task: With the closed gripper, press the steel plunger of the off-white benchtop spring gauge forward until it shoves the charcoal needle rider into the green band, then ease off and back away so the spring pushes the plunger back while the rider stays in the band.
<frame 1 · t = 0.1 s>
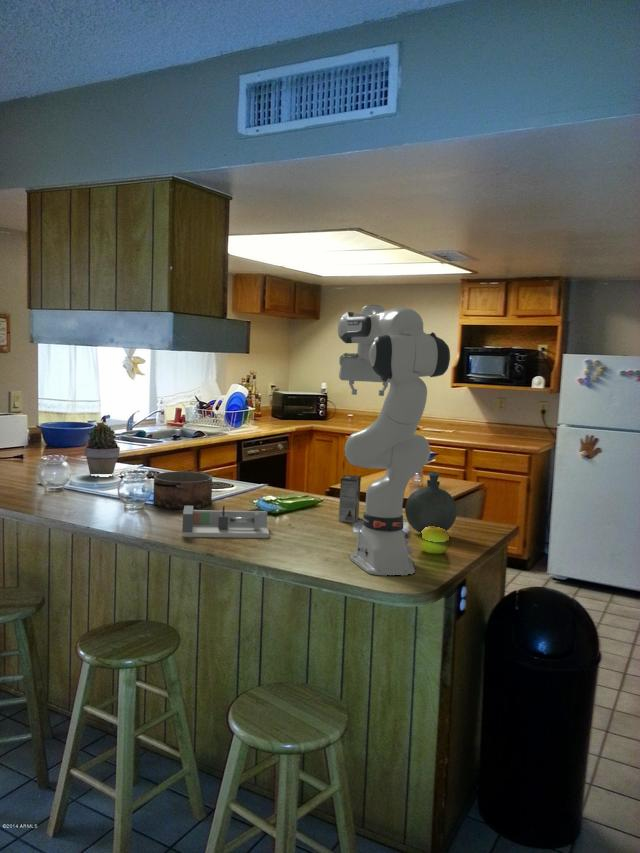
hand: (367, 395, 235), 48 cm above the countertop, fingers open, 8 cm apart
coffee box: (348, 520, 259), on the countertop
plunger: (244, 519, 231), point 4 cm above the countertop, slide at 0.0 cm
gauge bed: (225, 532, 231), on the countertop
cooking pot: (182, 504, 271), on the countertop
flask: (429, 535, 243), on the countertop
needle rider: (223, 516, 230), point 5 cm above the countertop, slide at 0.0 cm
potted plant: (101, 475, 317), on the countertop
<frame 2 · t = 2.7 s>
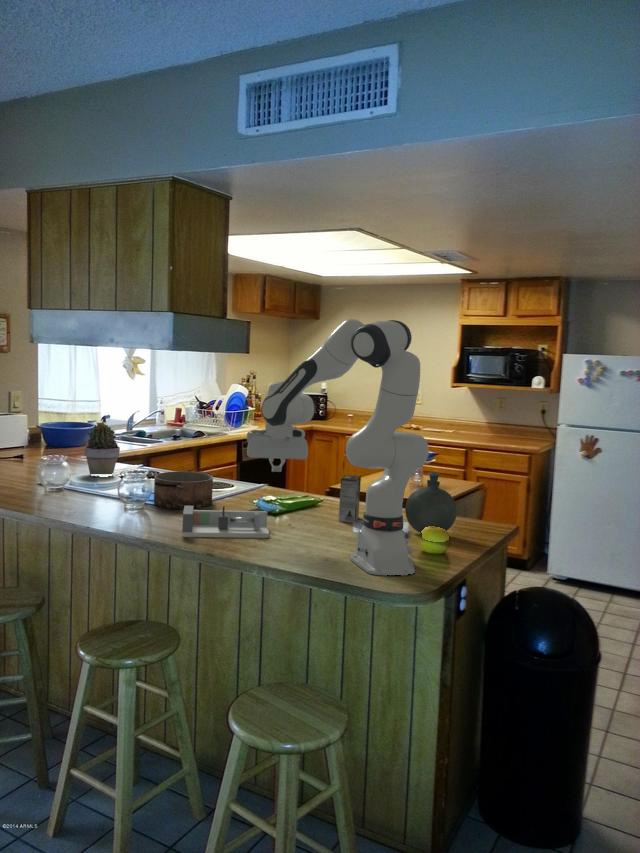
hand: (276, 471, 231), 21 cm above the countertop, fingers closed
nothing on the countertop moved.
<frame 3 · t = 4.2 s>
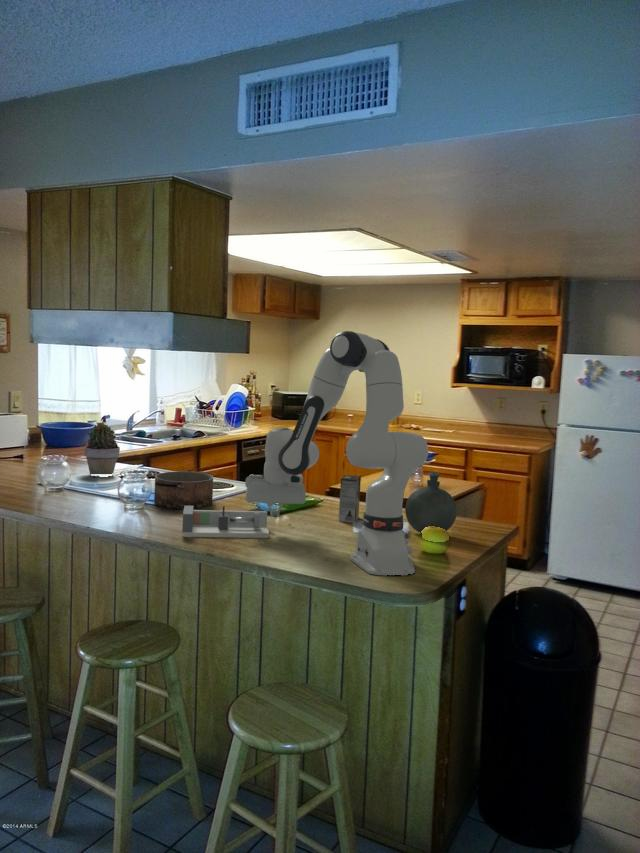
hand: (274, 515, 233), 6 cm above the countertop, fingers closed
nothing on the countertop moved.
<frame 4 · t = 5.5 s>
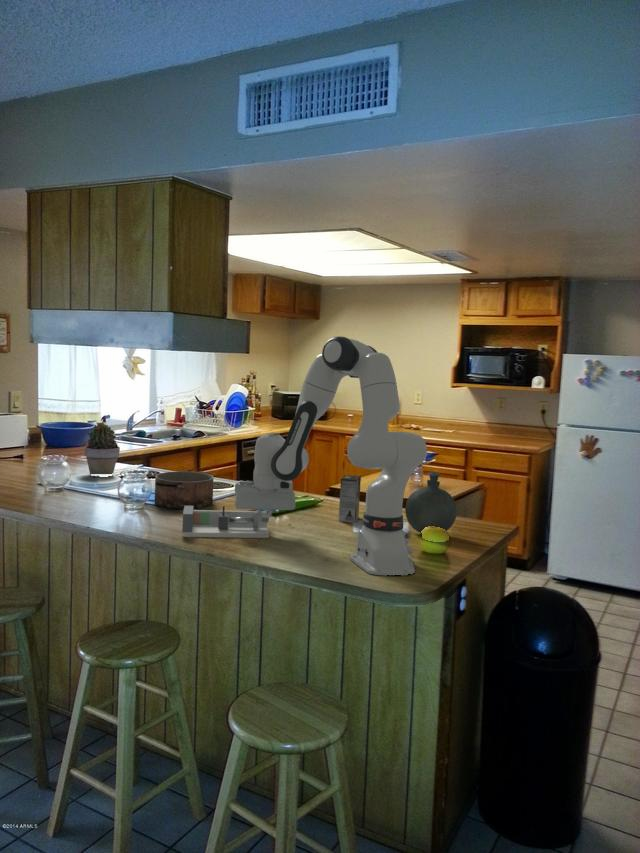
hand: (264, 521, 233), 4 cm above the countertop, fingers closed
plunger: (243, 519, 231), point 4 cm above the countertop, slide at 0.3 cm, touching gripper
everything else where it was.
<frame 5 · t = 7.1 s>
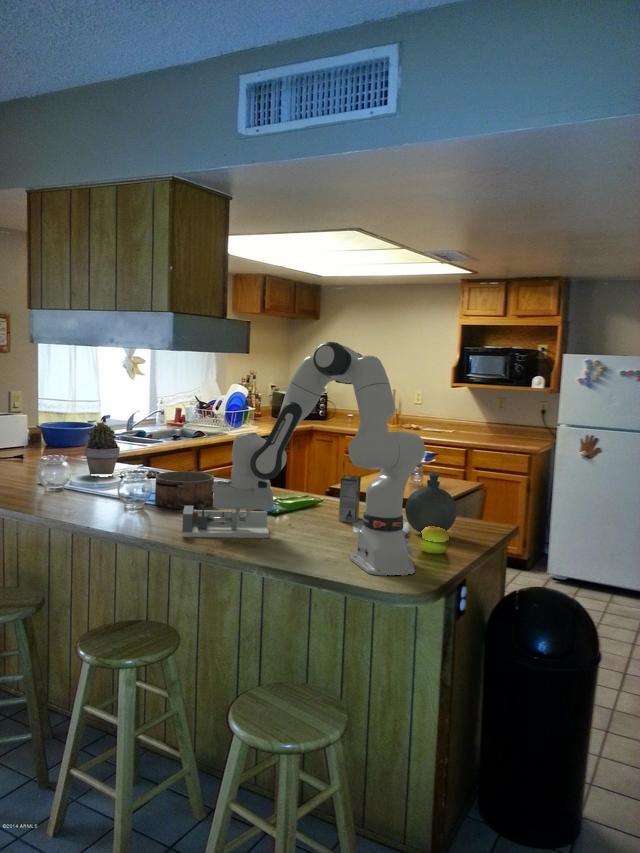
hand: (242, 521, 231), 4 cm above the countertop, fingers closed
plunger: (221, 519, 230), point 4 cm above the countertop, slide at 7.5 cm, touching gripper, needle rider
needle rider: (202, 516, 229), point 5 cm above the countertop, slide at 6.7 cm, touching plunger
everything else where it was.
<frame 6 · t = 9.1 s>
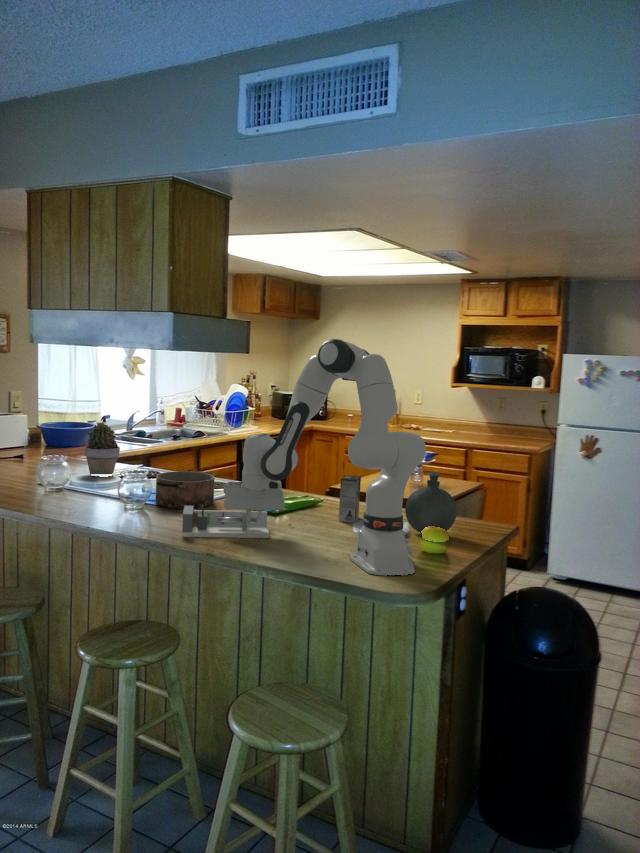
hand: (253, 522, 232), 4 cm above the countertop, fingers closed
plunger: (232, 519, 231), point 4 cm above the countertop, slide at 4.0 cm, touching gripper
needle rider: (202, 516, 229), point 5 cm above the countertop, slide at 6.8 cm
everything else where it was.
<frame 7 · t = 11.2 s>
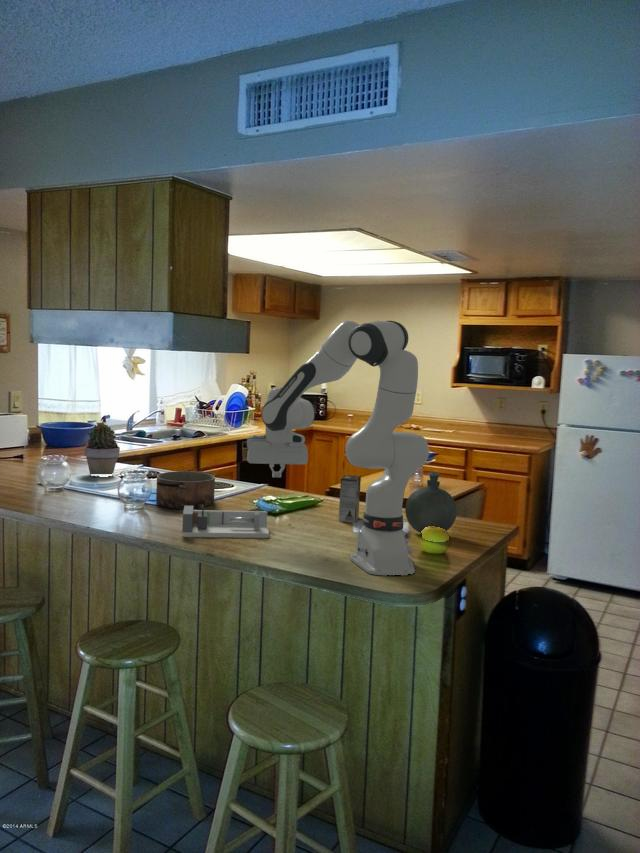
hand: (276, 477, 231), 19 cm above the countertop, fingers closed
plunger: (244, 519, 231), point 4 cm above the countertop, slide at 0.0 cm
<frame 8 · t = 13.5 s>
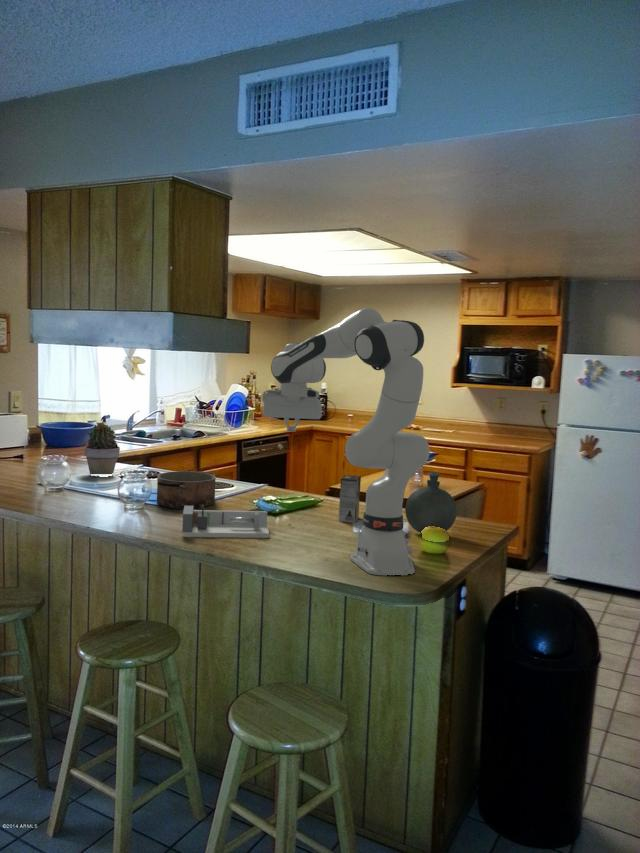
hand: (291, 431, 236), 34 cm above the countertop, fingers closed
at the end: needle rider slide at 6.8 cm; plunger slide at 0.0 cm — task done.
